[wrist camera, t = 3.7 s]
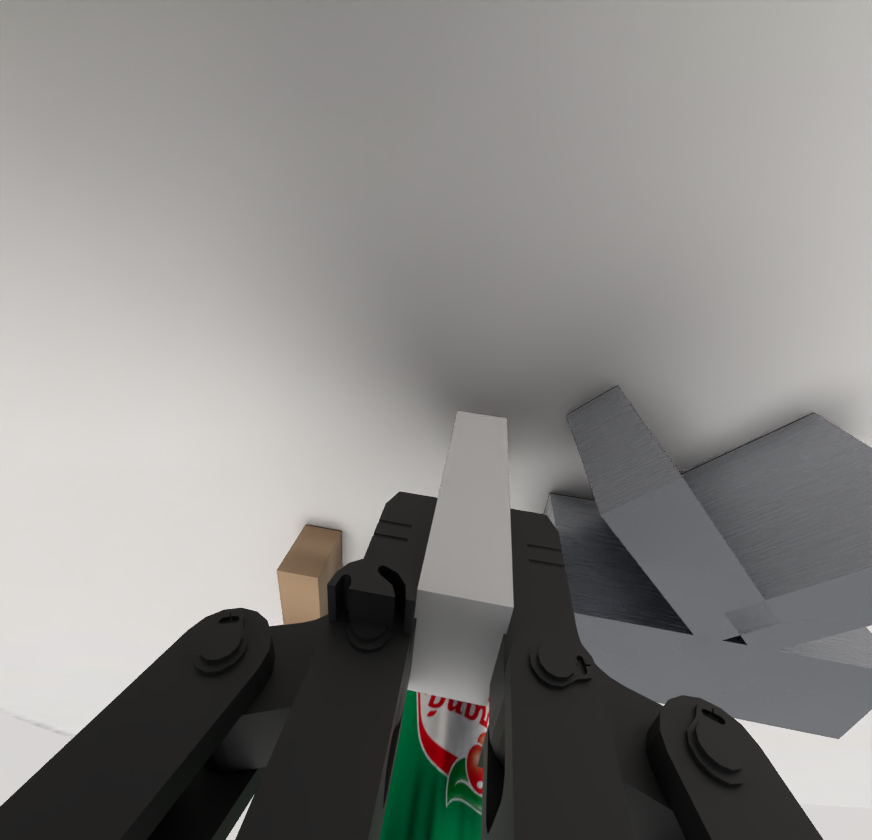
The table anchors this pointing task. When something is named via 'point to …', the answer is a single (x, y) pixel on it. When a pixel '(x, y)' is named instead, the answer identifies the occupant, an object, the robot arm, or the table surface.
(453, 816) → the soda can
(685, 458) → the table surface
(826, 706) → the v block
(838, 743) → the table surface
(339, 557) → the channel
